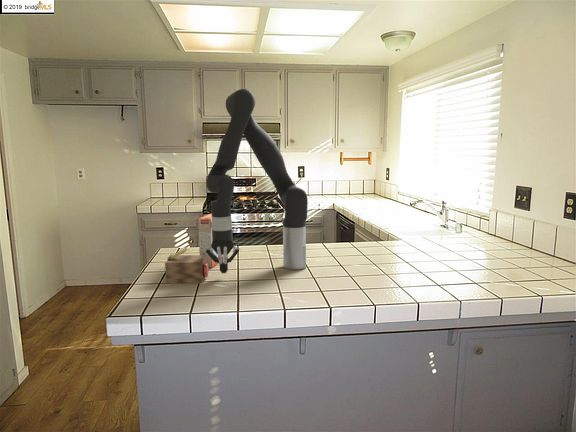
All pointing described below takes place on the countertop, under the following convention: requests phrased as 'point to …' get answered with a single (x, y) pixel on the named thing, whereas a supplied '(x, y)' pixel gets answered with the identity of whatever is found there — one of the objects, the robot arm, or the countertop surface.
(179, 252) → the lever
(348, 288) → the countertop surface
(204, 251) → the cracker box
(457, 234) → the countertop surface
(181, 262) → the block
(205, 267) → the lynch pin
